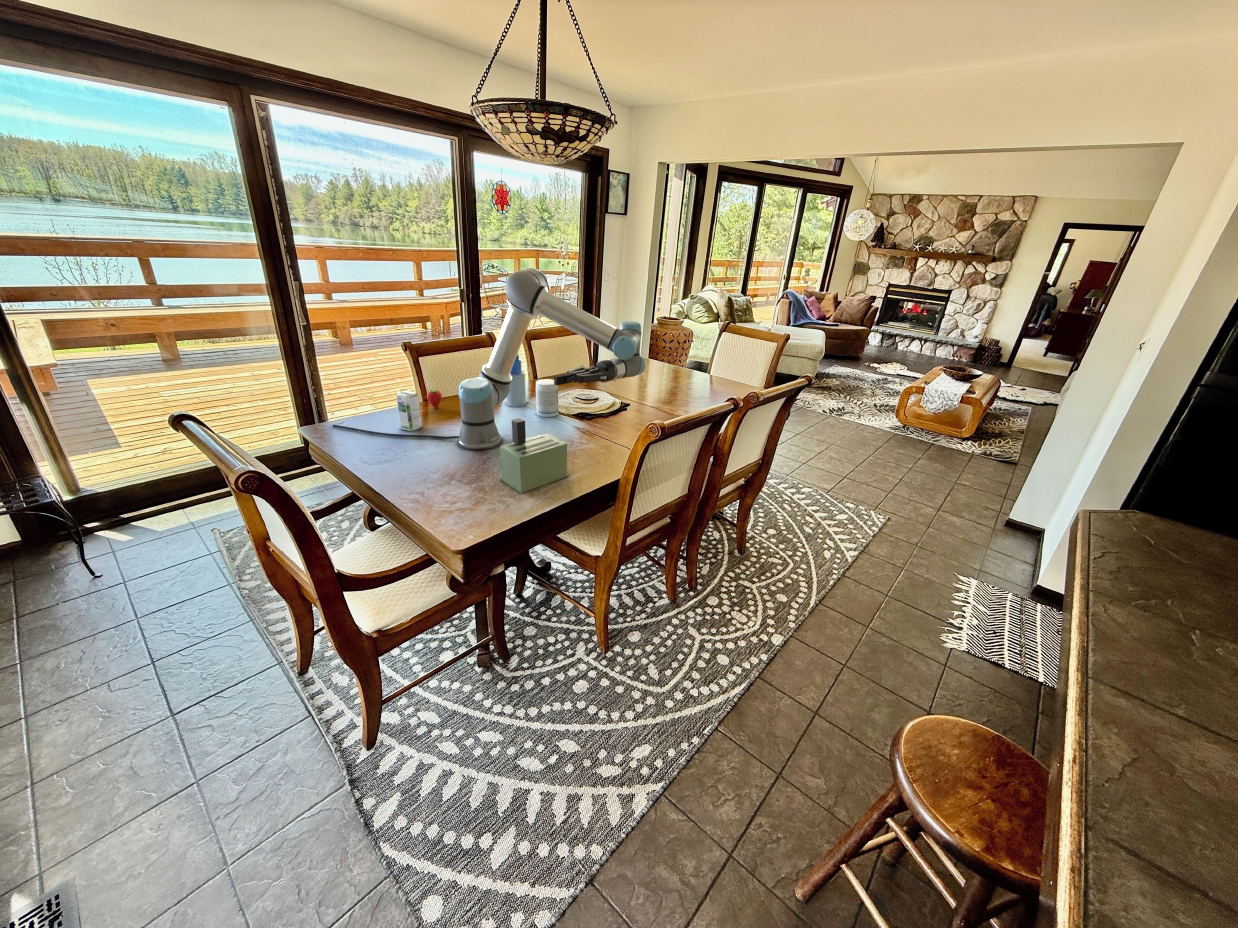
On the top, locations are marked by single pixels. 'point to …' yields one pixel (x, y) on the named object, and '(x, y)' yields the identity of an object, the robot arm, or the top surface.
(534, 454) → the toaster
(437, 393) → the strawberry
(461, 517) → the top surface
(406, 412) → the syrup box
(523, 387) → the spray bottle
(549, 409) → the supplement tub
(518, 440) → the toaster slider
